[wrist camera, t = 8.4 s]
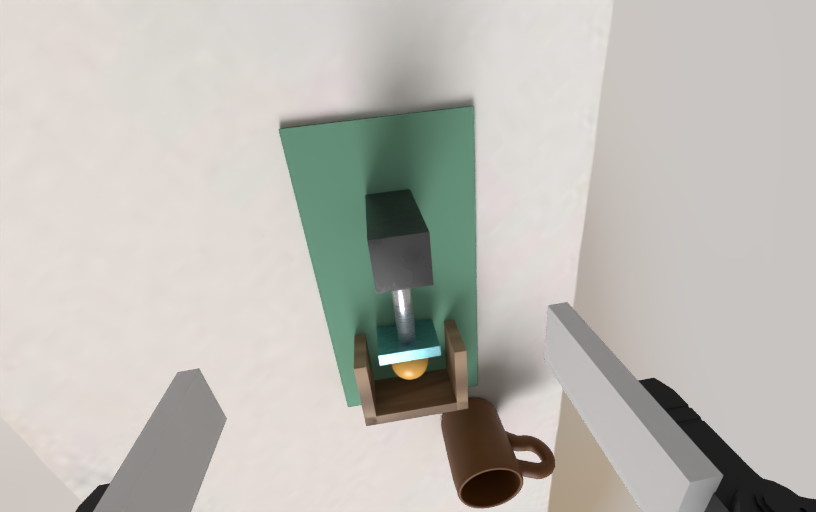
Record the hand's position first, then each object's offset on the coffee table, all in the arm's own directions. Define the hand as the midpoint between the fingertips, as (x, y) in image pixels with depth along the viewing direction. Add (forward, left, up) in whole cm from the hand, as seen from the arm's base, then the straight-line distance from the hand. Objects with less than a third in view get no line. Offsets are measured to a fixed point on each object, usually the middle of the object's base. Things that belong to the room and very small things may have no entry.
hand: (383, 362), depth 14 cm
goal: (+19, +2, -21) cm, 28 cm away
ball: (+17, +2, -19) cm, 26 cm away
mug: (+31, +11, -21) cm, 39 cm away
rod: (+7, +2, -20) cm, 22 cm away
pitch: (+9, +2, -21) cm, 23 cm away
